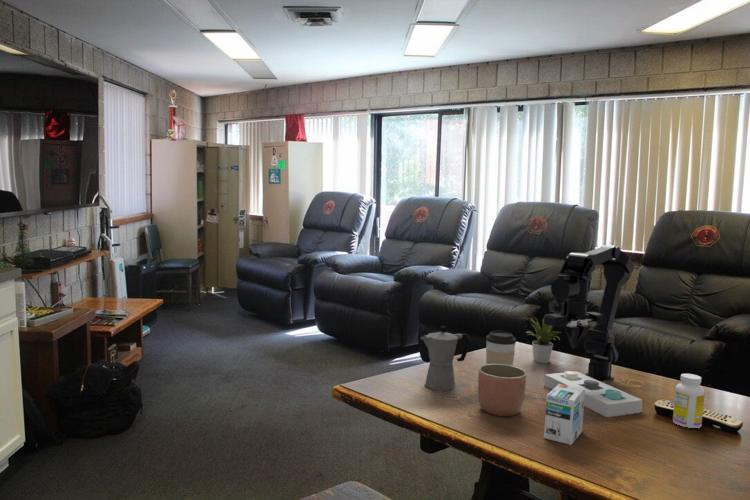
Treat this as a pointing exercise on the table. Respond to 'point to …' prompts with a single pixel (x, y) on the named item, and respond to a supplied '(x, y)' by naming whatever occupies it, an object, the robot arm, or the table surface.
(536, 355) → the house plant
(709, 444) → the table surface
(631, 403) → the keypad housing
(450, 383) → the coffeepot
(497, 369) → the planter
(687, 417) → the supplement bottle
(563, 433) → the light bulb box
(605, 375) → the robot arm
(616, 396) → the key teal
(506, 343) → the coffee cup
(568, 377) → the key ivory
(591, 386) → the key charcoal
